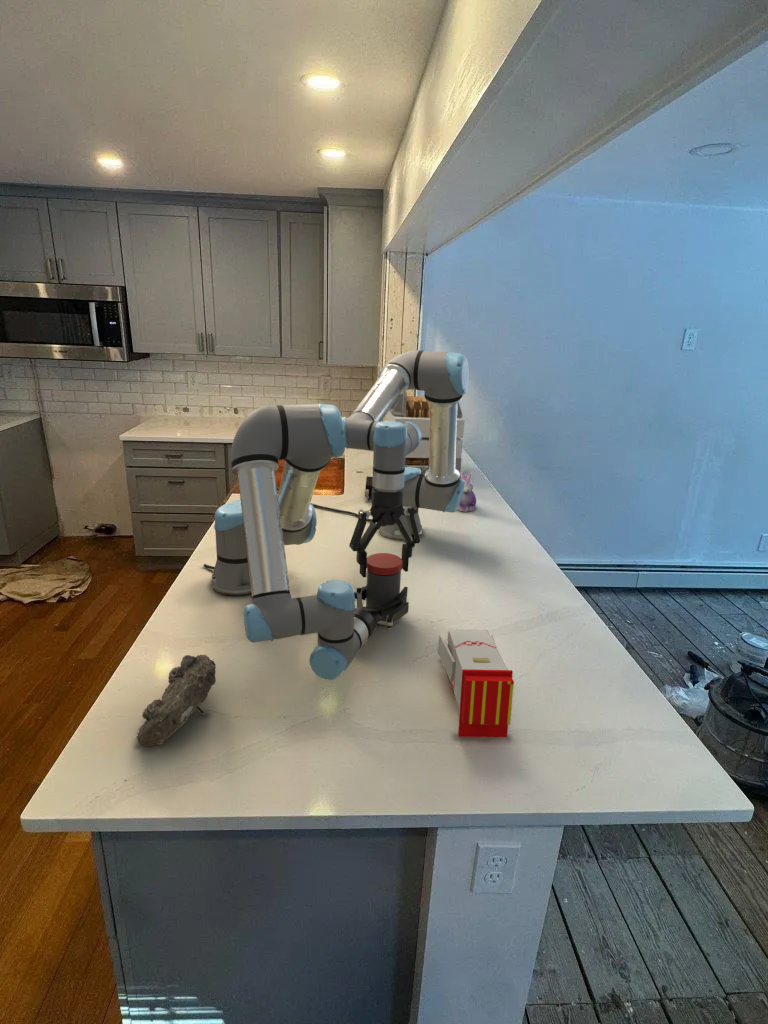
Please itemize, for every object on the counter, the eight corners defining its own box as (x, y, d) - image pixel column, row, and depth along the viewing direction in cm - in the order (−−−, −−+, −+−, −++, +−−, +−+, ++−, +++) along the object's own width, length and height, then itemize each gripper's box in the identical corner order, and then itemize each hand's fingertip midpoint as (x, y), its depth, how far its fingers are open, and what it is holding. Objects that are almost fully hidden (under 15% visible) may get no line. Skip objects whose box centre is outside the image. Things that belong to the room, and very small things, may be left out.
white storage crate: (382, 463, 289) (386, 382, 275) (445, 464, 293) (451, 384, 279) (390, 482, 257) (394, 392, 243) (460, 483, 261) (468, 394, 247)
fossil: (167, 656, 118) (217, 624, 113) (199, 686, 121) (249, 656, 116) (112, 740, 99) (170, 705, 94) (152, 773, 102) (210, 741, 97)
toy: (488, 613, 130) (523, 677, 101) (484, 667, 133) (517, 744, 104) (435, 612, 130) (455, 676, 101) (432, 666, 133) (451, 743, 103)
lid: (362, 560, 144) (362, 554, 143) (396, 558, 146) (396, 551, 146) (370, 576, 136) (371, 569, 135) (407, 573, 138) (407, 566, 138)
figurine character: (380, 506, 230) (380, 491, 243) (381, 489, 227) (381, 475, 240) (364, 506, 230) (364, 491, 243) (364, 489, 226) (365, 474, 240)
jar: (403, 613, 148) (407, 560, 143) (389, 628, 141) (392, 573, 135) (374, 605, 151) (377, 552, 146) (359, 619, 144) (361, 564, 139)
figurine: (463, 513, 222) (466, 477, 217) (448, 505, 231) (451, 470, 225) (482, 510, 226) (486, 474, 221) (467, 503, 235) (471, 468, 230)
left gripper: (312, 633, 133) (351, 592, 153) (397, 655, 126) (427, 609, 146) (312, 605, 130) (352, 567, 150) (399, 626, 123) (429, 583, 143)
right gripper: (424, 479, 142) (419, 560, 149) (336, 486, 133) (335, 571, 141) (438, 488, 135) (431, 572, 143) (346, 496, 127) (344, 585, 134)
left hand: (389, 587), depth 148 cm, fingers closed on jar, 8 cm apart
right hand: (383, 572), depth 142 cm, fingers open, 10 cm apart
